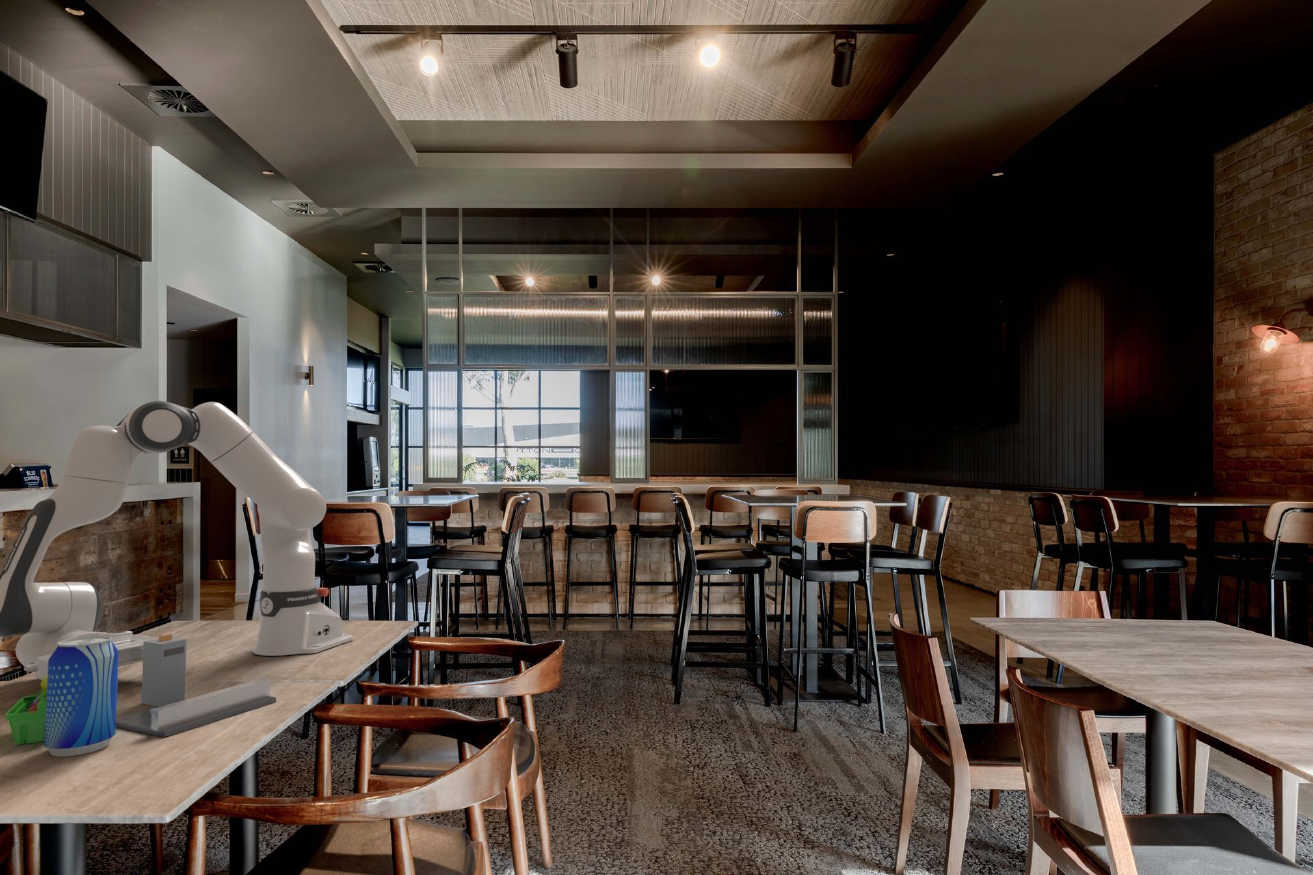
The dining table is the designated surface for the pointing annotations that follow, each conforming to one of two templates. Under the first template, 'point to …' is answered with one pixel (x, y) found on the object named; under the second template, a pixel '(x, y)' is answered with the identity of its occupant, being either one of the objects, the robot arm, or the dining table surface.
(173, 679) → the module
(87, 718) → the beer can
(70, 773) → the dining table surface
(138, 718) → the rail plate
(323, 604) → the robot arm
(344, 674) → the dining table surface
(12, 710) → the fruit basket
